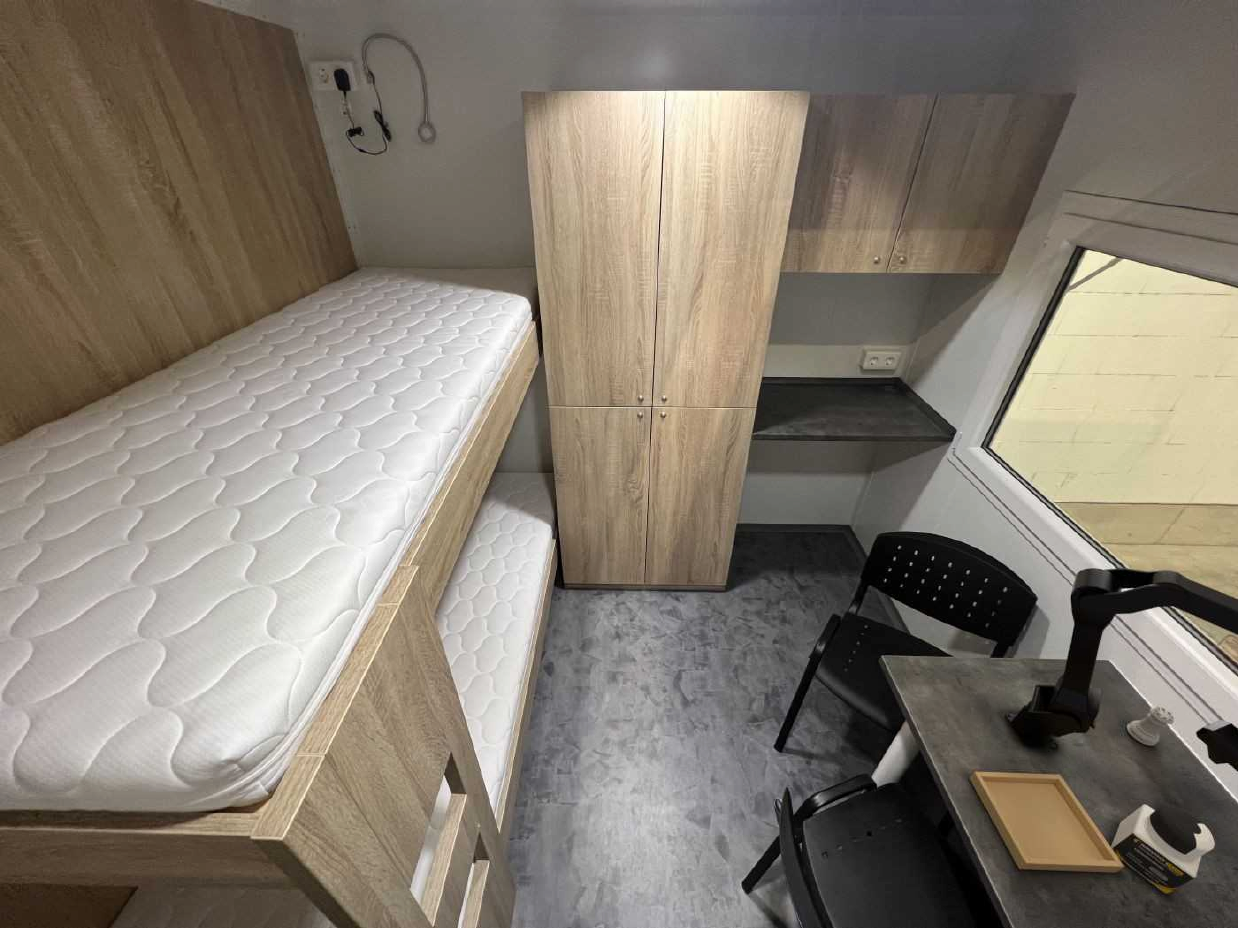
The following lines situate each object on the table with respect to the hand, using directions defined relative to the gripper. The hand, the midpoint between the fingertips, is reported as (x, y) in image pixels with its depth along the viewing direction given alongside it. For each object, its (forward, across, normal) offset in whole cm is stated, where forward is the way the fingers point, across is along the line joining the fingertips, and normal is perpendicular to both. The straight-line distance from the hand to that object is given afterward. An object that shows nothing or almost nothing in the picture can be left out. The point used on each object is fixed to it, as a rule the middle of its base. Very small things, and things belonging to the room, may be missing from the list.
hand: (1236, 750), depth 79 cm
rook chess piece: (+18, +3, +8) cm, 20 cm away
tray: (+10, -31, +2) cm, 32 cm away
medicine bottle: (+12, -19, -6) cm, 23 cm away
